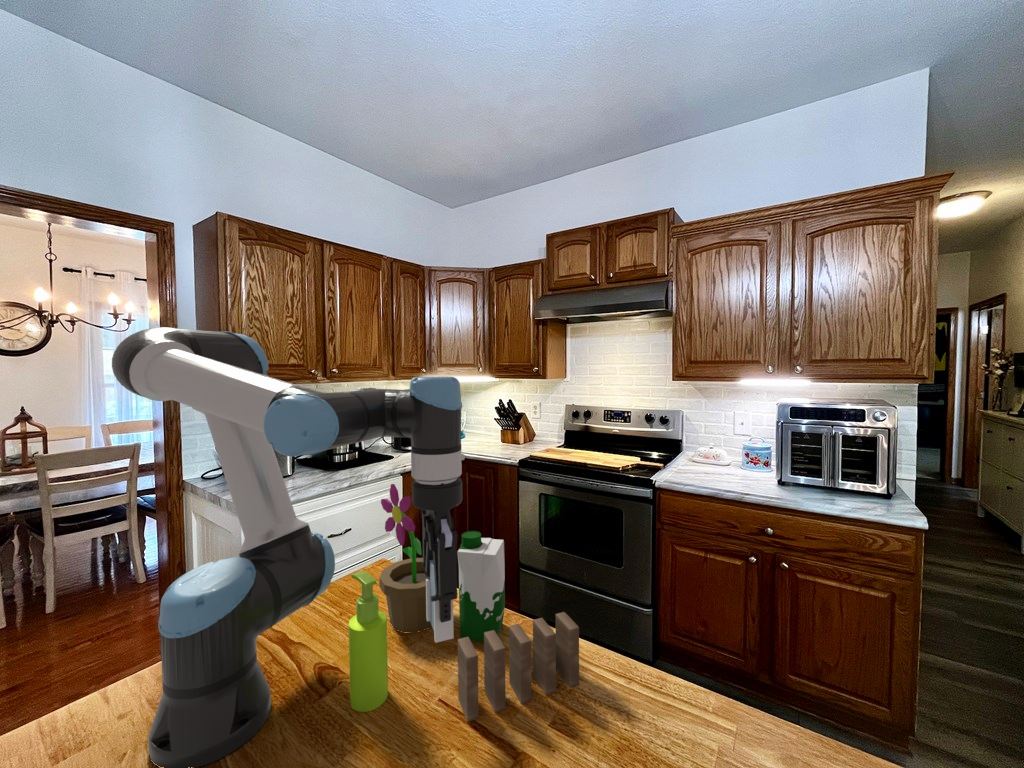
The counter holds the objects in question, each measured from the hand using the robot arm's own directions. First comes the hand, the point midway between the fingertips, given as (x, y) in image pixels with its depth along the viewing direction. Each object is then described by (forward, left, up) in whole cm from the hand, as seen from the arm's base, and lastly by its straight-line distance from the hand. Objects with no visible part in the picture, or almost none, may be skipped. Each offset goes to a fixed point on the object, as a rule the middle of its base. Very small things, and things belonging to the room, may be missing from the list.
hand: (439, 628), depth 66 cm
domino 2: (+4, 0, -14) cm, 15 cm away
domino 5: (+18, 0, -14) cm, 23 cm away
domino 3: (+9, 0, -14) cm, 17 cm away
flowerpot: (+1, +28, -14) cm, 32 cm away
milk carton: (+13, +18, -14) cm, 26 cm away
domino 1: (0, 0, 0) cm, 0 cm away
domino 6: (+22, 0, -14) cm, 27 cm away
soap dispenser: (-10, +9, -14) cm, 20 cm away
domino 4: (+13, 0, -14) cm, 20 cm away
